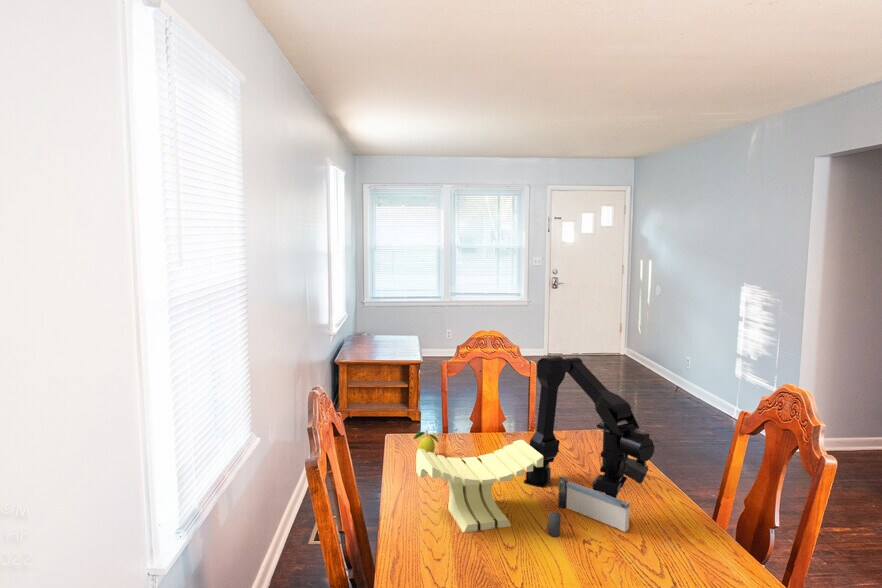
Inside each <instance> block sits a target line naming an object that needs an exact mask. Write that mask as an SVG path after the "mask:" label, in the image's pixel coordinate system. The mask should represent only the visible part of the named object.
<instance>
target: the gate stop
mask: <svg viewBox="0 0 882 588" xmlns="http://www.w3.org/2000/svg"><path fill="white" fill-rule="evenodd" d="M561 516H562V515H561V514H560V513H559V512H556V511H550V512H549V513H548V518H547V519H548V521H547V522H548V524H547V535H548V536H550V537H553V538H557V537H560V536H561V520H562V518H561Z"/></svg>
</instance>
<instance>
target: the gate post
mask: <svg viewBox="0 0 882 588" xmlns="http://www.w3.org/2000/svg"><path fill="white" fill-rule="evenodd" d="M568 482H569V479H568V478H567V477H565V476H564V477H563V476H560V477H559V478H558V501H557V502H558V503H557V506H558V508H559V509H561V510H562V509H567V508H566V502H567V487H566V486H567V483H568Z"/></svg>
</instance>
